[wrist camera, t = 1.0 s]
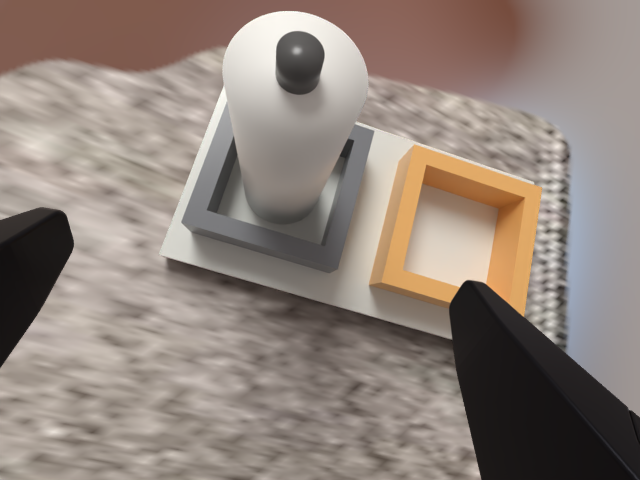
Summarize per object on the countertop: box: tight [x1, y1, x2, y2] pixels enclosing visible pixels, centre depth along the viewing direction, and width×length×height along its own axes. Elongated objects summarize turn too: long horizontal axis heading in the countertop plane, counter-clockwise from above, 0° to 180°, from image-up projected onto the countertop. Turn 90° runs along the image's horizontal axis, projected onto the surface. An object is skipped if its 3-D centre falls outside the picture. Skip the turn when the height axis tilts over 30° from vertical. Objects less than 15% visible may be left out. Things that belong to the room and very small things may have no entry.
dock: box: [159, 87, 542, 340], centre depth 22 cm, size 12×22×4 cm, turn 75°
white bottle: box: [223, 11, 368, 224], centre depth 16 cm, size 5×5×12 cm
